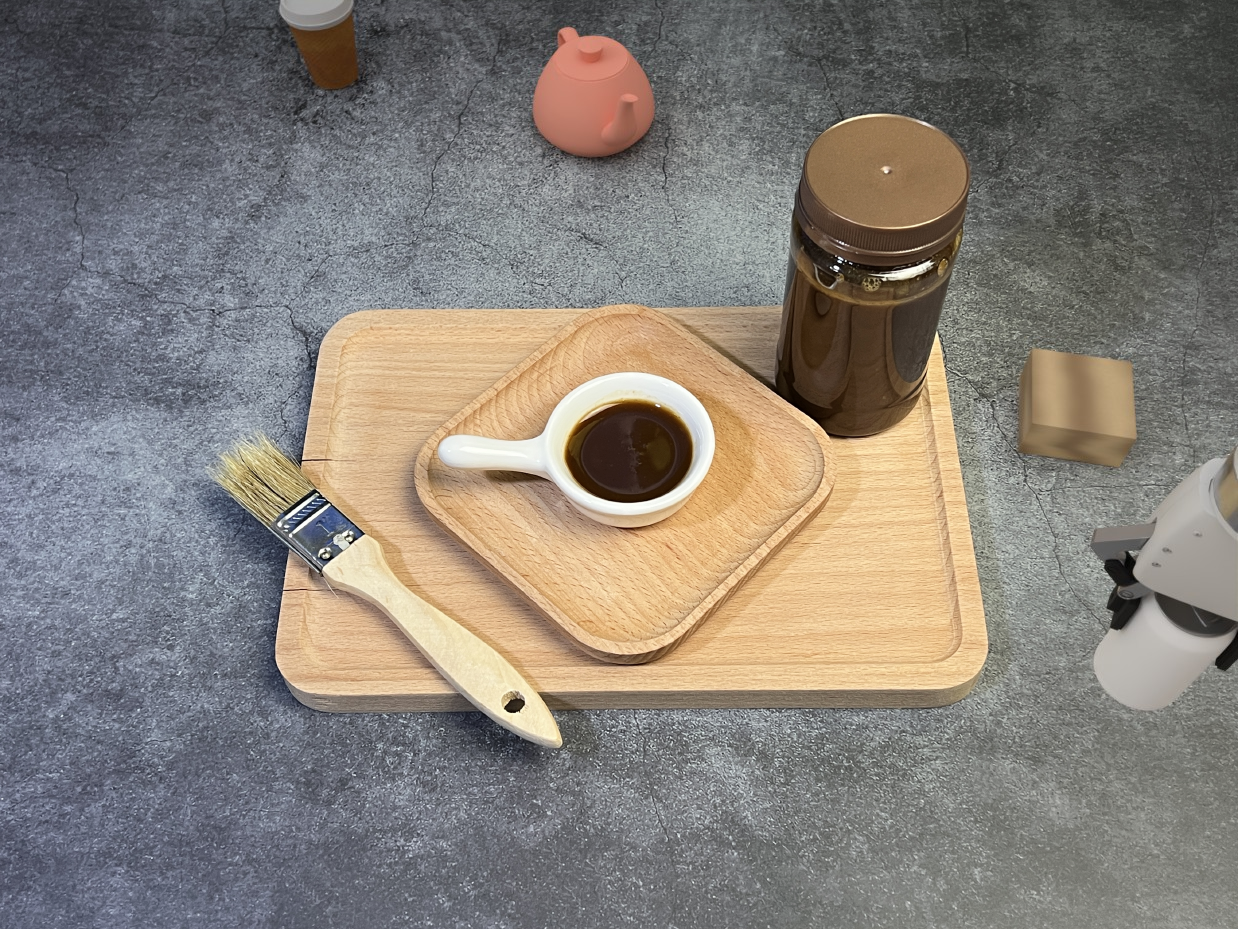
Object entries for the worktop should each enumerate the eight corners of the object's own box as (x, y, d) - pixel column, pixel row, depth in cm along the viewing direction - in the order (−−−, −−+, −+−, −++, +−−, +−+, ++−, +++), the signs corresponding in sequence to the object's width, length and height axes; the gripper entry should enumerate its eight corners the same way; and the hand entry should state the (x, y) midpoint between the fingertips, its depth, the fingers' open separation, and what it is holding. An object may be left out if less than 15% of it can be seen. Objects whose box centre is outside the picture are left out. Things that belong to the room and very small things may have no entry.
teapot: (690, 164, 139) (693, 80, 129) (577, 202, 136) (571, 118, 125) (616, 68, 151) (613, -17, 140) (510, 101, 147) (500, 16, 137)
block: (1115, 392, 117) (1132, 361, 113) (1119, 467, 112) (1137, 439, 108) (1018, 377, 119) (1032, 347, 114) (1018, 452, 113) (1032, 423, 109)
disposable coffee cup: (287, 87, 150) (262, 7, 140) (324, 48, 155) (302, -33, 145) (347, 104, 147) (326, 23, 138) (383, 63, 152) (365, -18, 142)
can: (1142, 622, 86) (1204, 544, 76) (1198, 692, 83) (1271, 620, 73) (1073, 653, 85) (1127, 578, 75) (1127, 726, 82) (1192, 658, 72)
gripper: (1457, 498, 63) (1306, 636, 78) (1146, 399, 68) (1059, 546, 82) (1450, 604, 59) (1292, 728, 74) (1121, 491, 64) (1034, 629, 79)
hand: (1170, 631), depth 78 cm, fingers closed on can, 6 cm apart
